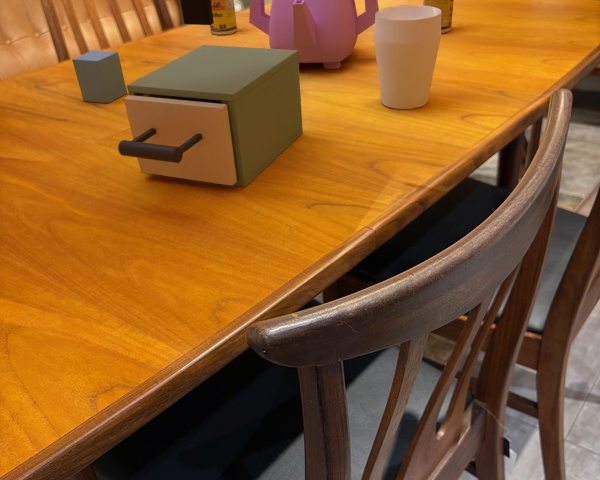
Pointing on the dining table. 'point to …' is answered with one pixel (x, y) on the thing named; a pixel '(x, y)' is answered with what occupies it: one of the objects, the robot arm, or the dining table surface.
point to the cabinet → (239, 97)
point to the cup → (406, 53)
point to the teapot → (314, 27)
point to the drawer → (181, 138)
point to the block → (100, 76)
